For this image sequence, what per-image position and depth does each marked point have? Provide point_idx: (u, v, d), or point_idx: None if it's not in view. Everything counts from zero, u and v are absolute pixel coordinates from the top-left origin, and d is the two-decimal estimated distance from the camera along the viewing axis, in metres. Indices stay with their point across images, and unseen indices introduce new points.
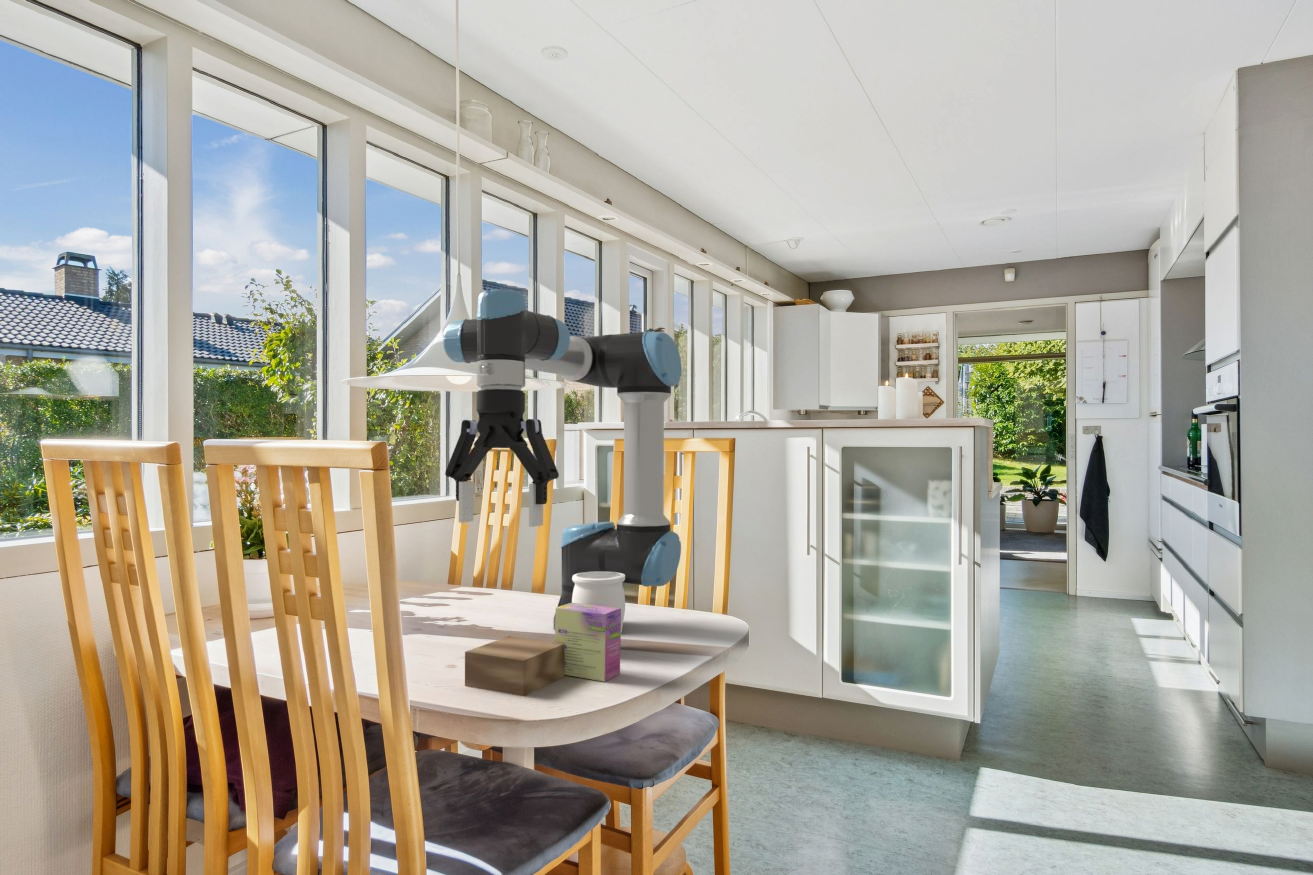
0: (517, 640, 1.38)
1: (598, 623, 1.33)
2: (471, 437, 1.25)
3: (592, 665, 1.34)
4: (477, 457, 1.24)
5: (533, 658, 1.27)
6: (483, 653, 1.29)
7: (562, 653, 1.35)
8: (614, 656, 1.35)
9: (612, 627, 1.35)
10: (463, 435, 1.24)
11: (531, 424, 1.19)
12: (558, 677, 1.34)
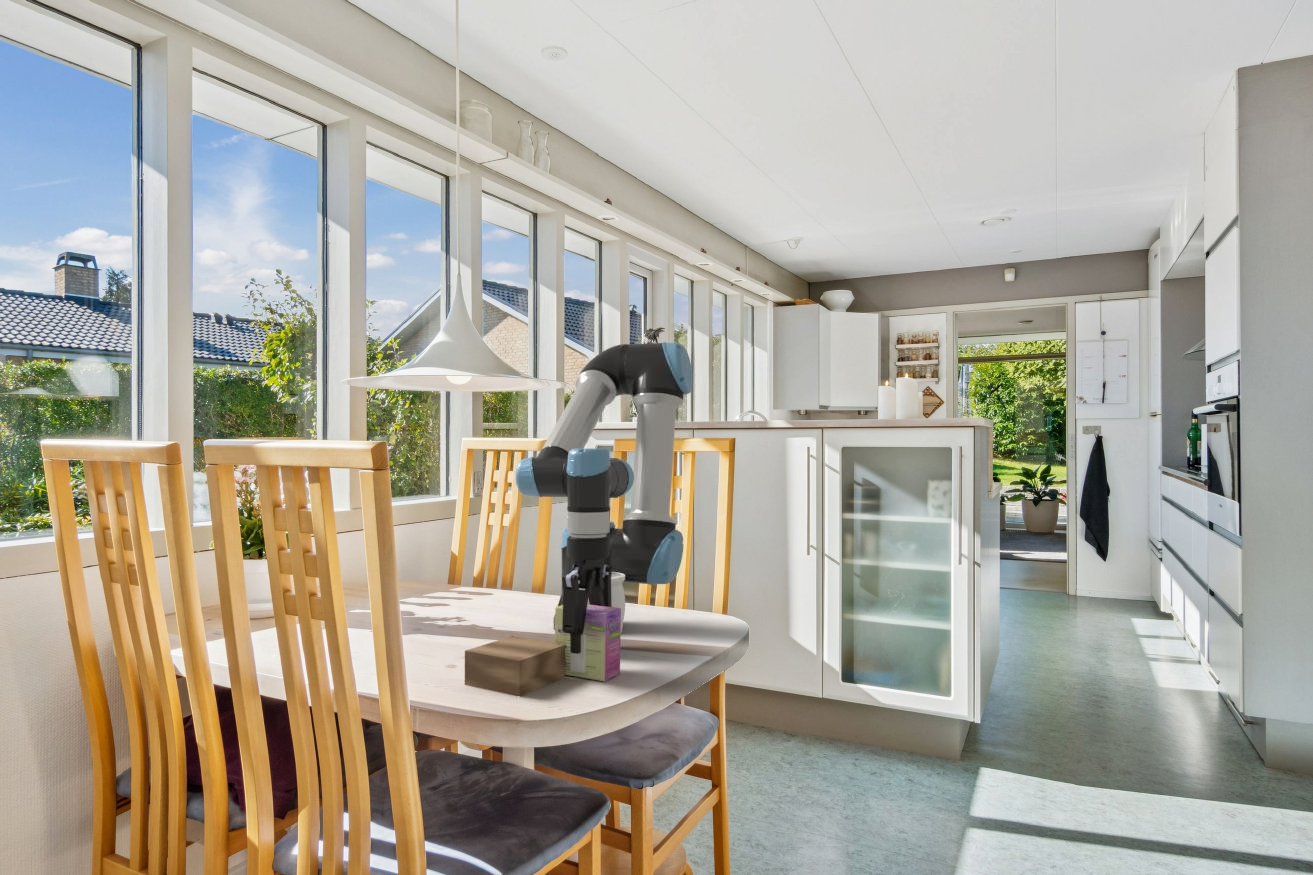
0: (519, 640, 1.38)
1: (598, 623, 1.33)
2: (602, 579, 1.42)
3: (592, 664, 1.34)
4: (592, 598, 1.40)
5: (530, 659, 1.27)
6: (482, 652, 1.30)
7: (562, 654, 1.35)
8: (614, 655, 1.35)
9: (612, 627, 1.35)
10: None
11: None
12: (558, 678, 1.34)
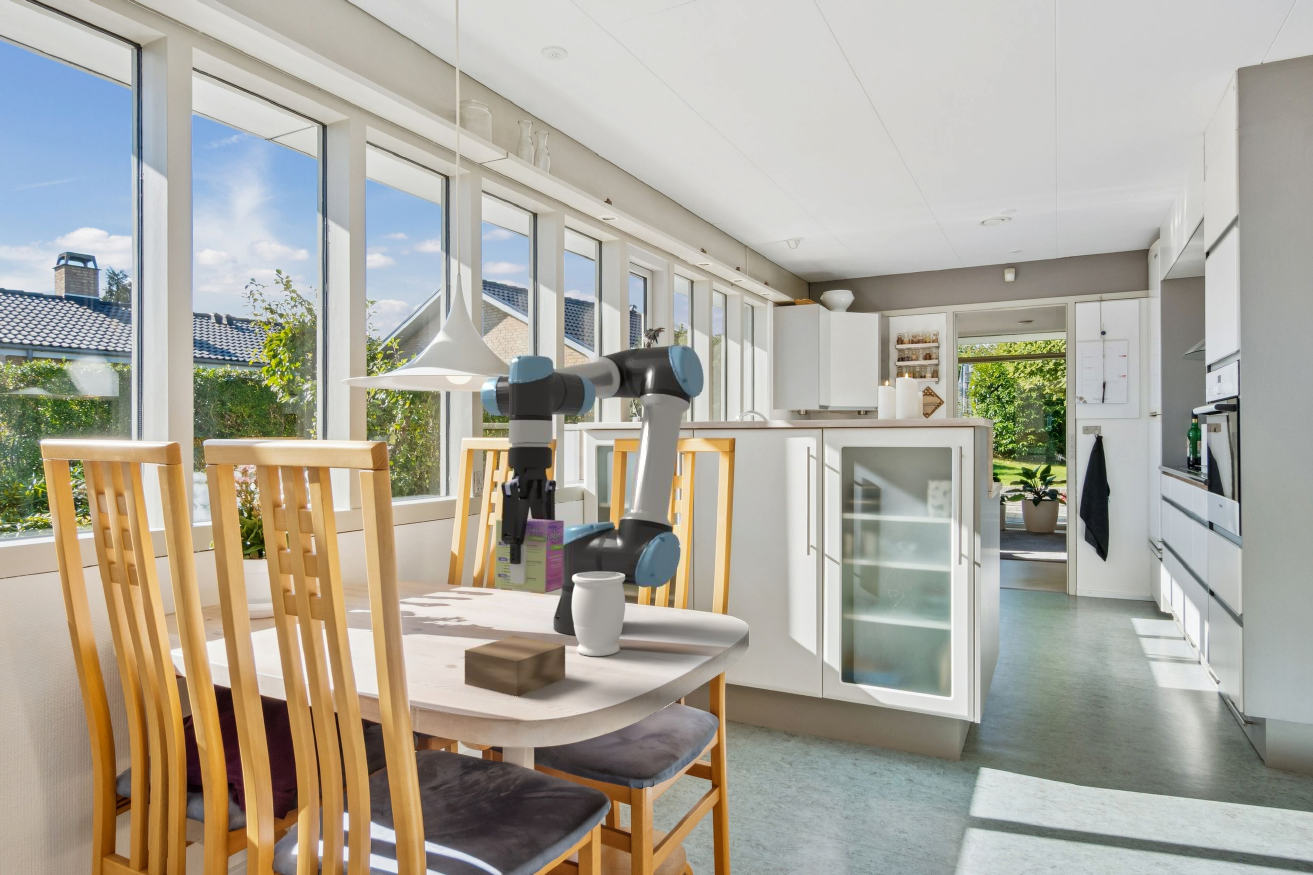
0: (520, 640, 1.38)
1: (539, 533, 1.30)
2: (546, 494, 1.38)
3: (533, 576, 1.30)
4: (534, 512, 1.36)
5: (528, 659, 1.27)
6: (481, 652, 1.30)
7: (563, 654, 1.34)
8: (556, 568, 1.32)
9: (554, 538, 1.31)
10: None
11: (502, 488, 1.29)
12: (558, 678, 1.33)
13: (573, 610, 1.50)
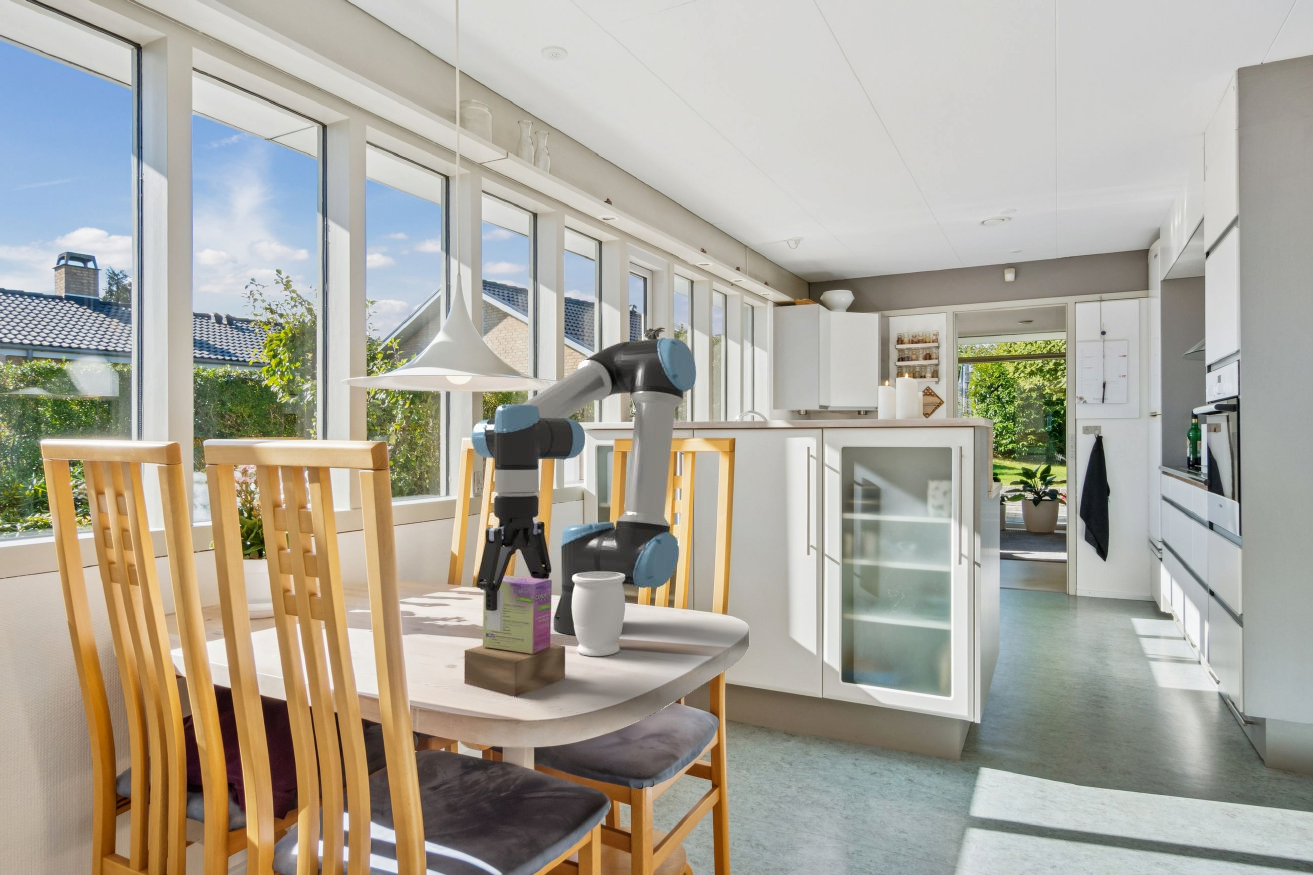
0: None
1: (526, 594, 1.30)
2: (536, 537, 1.38)
3: (520, 637, 1.30)
4: (526, 556, 1.37)
5: (526, 660, 1.27)
6: (480, 652, 1.30)
7: (562, 656, 1.34)
8: (543, 628, 1.32)
9: (542, 599, 1.31)
10: None
11: (486, 533, 1.28)
12: (557, 680, 1.33)
13: (573, 610, 1.50)
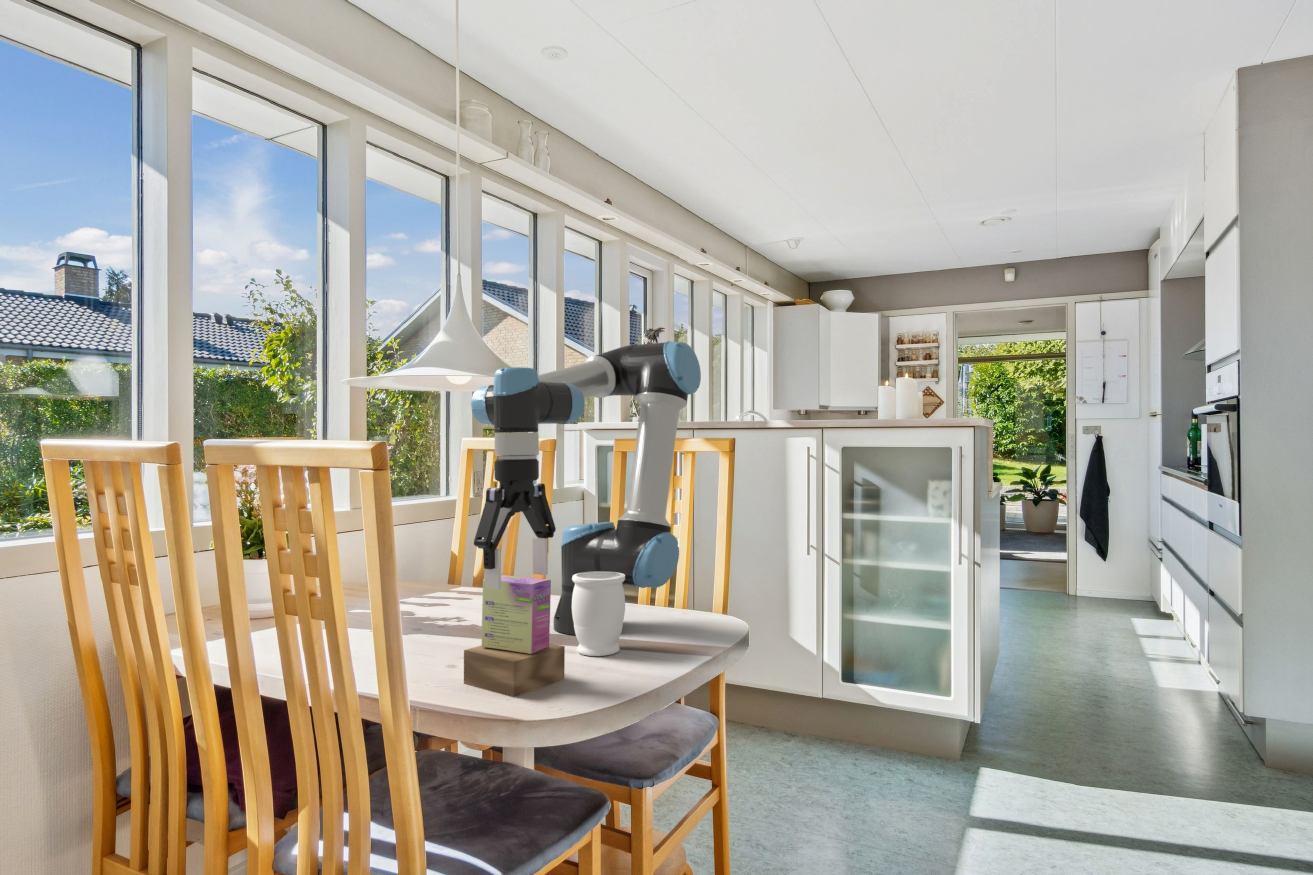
0: None
1: (525, 594, 1.29)
2: (537, 499, 1.39)
3: (519, 637, 1.30)
4: (529, 517, 1.38)
5: (525, 660, 1.27)
6: (480, 652, 1.30)
7: (562, 656, 1.34)
8: (542, 628, 1.31)
9: (541, 599, 1.31)
10: None
11: None
12: (557, 680, 1.33)
13: (573, 610, 1.50)
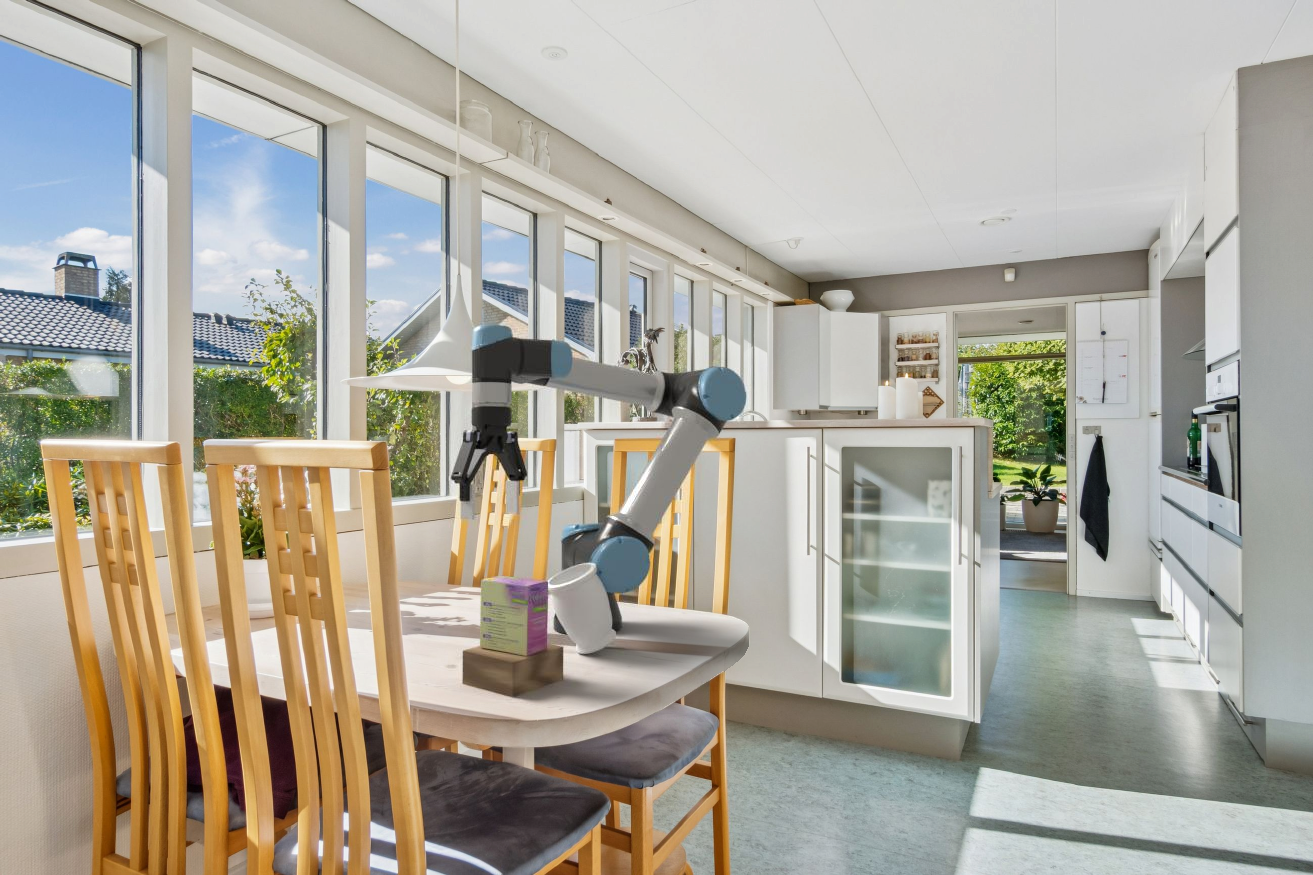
0: None
1: (521, 595, 1.29)
2: (510, 445, 1.55)
3: (515, 638, 1.29)
4: (502, 461, 1.54)
5: (524, 660, 1.27)
6: (479, 653, 1.30)
7: (561, 656, 1.34)
8: (539, 630, 1.31)
9: (537, 600, 1.30)
10: None
11: None
12: (555, 680, 1.33)
13: (558, 617, 1.49)
